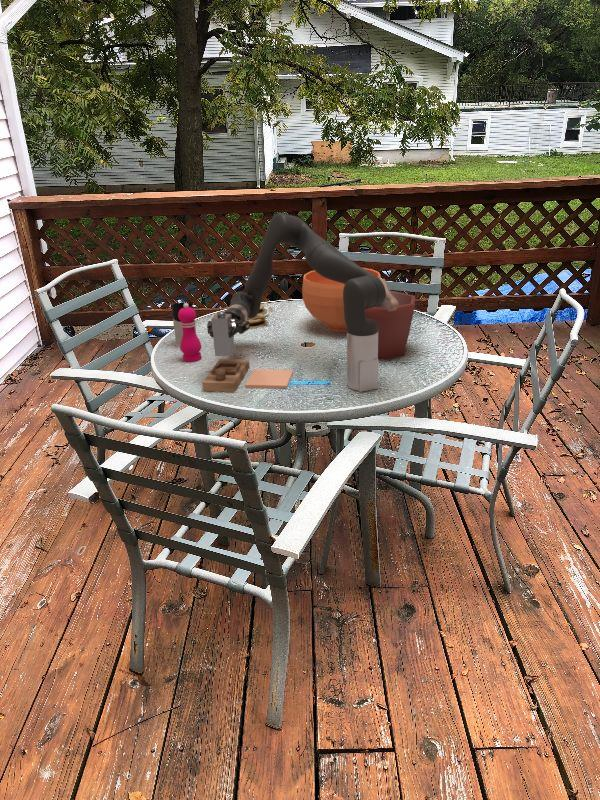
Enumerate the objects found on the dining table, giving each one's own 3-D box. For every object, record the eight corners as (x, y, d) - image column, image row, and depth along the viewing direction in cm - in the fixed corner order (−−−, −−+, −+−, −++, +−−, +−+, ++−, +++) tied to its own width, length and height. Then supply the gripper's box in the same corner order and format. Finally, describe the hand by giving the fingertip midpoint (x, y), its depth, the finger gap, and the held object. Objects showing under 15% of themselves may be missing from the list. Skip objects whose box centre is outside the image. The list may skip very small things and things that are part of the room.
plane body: (220, 367, 211) (218, 350, 208) (249, 368, 209) (248, 351, 207) (203, 391, 193) (201, 373, 190) (235, 392, 191) (233, 373, 189)
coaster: (254, 372, 206) (254, 369, 205) (293, 372, 204) (293, 369, 203) (245, 387, 194) (245, 384, 194) (286, 388, 192) (286, 385, 192)
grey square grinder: (219, 350, 200) (215, 310, 194) (234, 350, 199) (230, 310, 194) (215, 355, 195) (210, 314, 190) (230, 356, 194) (226, 314, 189)
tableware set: (228, 311, 275) (227, 298, 273) (273, 308, 277) (272, 295, 274) (228, 332, 248) (226, 317, 246) (277, 328, 250) (277, 314, 247)
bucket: (411, 365, 205) (413, 290, 195) (343, 363, 210) (342, 289, 200) (414, 341, 227) (416, 272, 217) (353, 339, 232) (352, 271, 221)
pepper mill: (191, 354, 224) (184, 299, 216) (206, 357, 221) (200, 301, 212) (177, 360, 218) (170, 304, 210) (193, 363, 215) (187, 307, 207)
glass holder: (194, 338, 240) (189, 300, 234) (207, 349, 228) (202, 309, 222) (171, 343, 236) (166, 304, 230) (184, 354, 225) (179, 313, 218)
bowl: (360, 312, 263) (360, 263, 254) (395, 332, 237) (396, 278, 228) (292, 322, 253) (290, 272, 245) (321, 344, 227) (320, 289, 219)
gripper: (211, 307, 207) (196, 322, 191) (254, 307, 205) (242, 322, 189) (214, 329, 210) (199, 346, 194) (256, 329, 208) (244, 346, 192)
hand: (220, 334), depth 192 cm, fingers closed on grey square grinder, 5 cm apart
